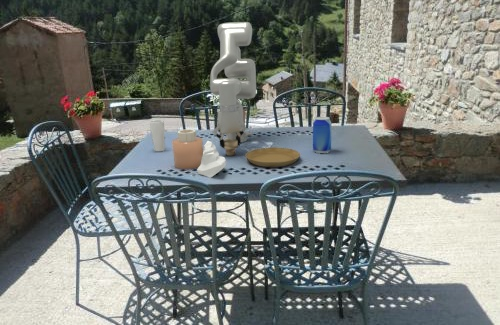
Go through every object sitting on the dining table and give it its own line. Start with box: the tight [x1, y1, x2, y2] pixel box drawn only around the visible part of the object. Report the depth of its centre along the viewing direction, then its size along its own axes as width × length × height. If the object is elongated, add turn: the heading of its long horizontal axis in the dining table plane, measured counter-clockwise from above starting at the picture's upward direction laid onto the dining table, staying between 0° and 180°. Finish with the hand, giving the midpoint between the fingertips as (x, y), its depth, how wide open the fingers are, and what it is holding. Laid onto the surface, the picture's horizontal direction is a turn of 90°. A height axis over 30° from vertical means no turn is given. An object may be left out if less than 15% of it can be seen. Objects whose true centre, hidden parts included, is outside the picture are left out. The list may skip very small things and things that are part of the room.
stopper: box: [223, 139, 239, 157], centre depth 199 cm, size 7×7×6 cm
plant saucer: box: [245, 146, 301, 168], centre depth 188 cm, size 24×24×3 cm
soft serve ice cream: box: [196, 140, 227, 179], centre depth 174 cm, size 12×15×14 cm
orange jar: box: [171, 128, 204, 170], centre depth 186 cm, size 13×13×15 cm
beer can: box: [312, 116, 333, 154], centre depth 197 cm, size 8×8×16 cm
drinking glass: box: [149, 119, 166, 153], centre depth 210 cm, size 7×7×15 cm
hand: (230, 145), depth 198 cm, fingers closed on stopper, 7 cm apart
